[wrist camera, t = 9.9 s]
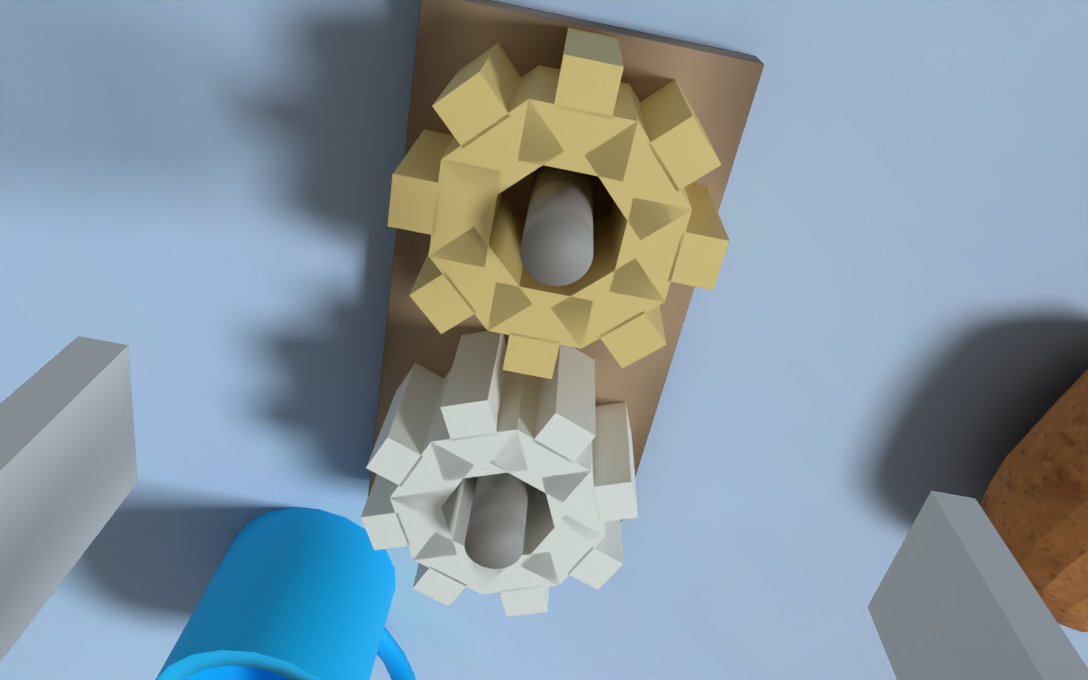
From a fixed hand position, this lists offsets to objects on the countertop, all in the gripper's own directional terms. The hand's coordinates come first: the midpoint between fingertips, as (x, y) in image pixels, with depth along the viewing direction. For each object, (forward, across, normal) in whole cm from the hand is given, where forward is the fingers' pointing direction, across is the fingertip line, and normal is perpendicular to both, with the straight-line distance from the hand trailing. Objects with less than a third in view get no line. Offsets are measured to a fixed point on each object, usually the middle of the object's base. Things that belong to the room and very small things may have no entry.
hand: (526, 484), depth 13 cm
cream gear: (+16, 0, -11) cm, 20 cm away
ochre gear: (+16, 0, 0) cm, 16 cm away
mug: (+18, -6, -23) cm, 30 cm away
